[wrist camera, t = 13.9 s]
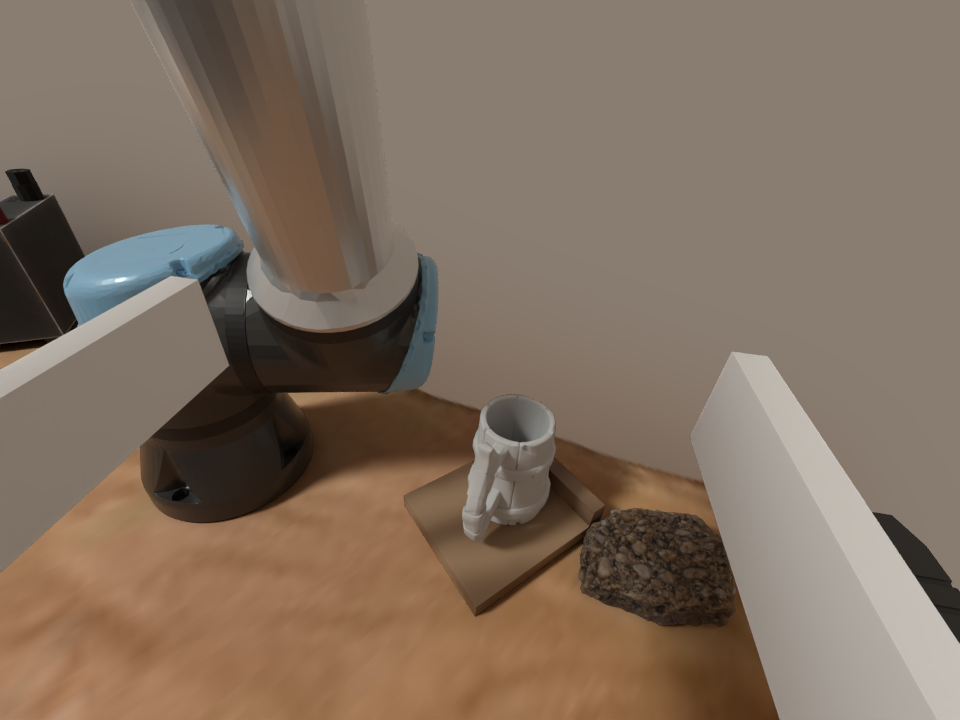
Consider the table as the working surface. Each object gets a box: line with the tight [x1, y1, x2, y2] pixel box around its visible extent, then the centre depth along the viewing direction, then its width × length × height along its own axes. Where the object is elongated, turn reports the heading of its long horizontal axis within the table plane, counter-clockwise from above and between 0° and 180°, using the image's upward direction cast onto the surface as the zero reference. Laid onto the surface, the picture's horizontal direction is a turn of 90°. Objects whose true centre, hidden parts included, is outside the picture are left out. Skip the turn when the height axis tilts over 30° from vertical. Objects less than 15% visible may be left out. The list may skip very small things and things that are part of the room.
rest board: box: [404, 457, 605, 616], centre depth 39 cm, size 12×14×4 cm
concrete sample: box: [578, 508, 736, 627], centre depth 35 cm, size 12×10×5 cm
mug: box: [462, 394, 556, 543], centre depth 36 cm, size 8×12×12 cm, turn 151°
